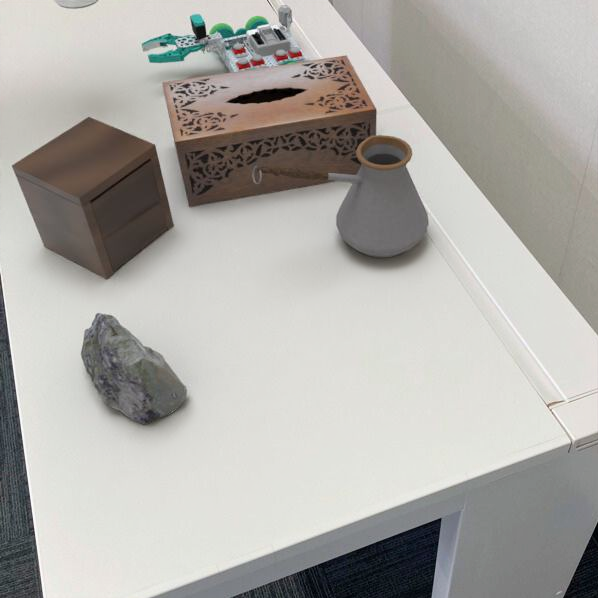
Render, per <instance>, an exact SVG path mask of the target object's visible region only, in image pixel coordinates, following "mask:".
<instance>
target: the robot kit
mask: <svg viewBox="0 0 598 598" xmlns="http://www.w3.org/2000/svg"><path fill="white" fill-rule="evenodd" d="M277 13H278V22H279V23H280V25H279V26H278V24H273V25H270V23H269V21H268V20H267V19H266V17H264V16H260V15H255V16H252V17H250V18H249V19H248V20H247V21H246V23H245V27H244V28H243V27H240V28H238V29H236V30H234V29H233V27H232V26H230V25H229V24H228V23H224V22H219V23H216V24H214V25H213V26H212V27H211V29H210V30H209V33H208V34H207V28H206V22H205V20H204V18H203V17H202V15H201V14H199V13H196V14H191V15H190V16H189V19H190V24H191V29H192V32H193V34H185V35H182V36H181V35H173V34H172V33H170V32H169V33H165V34H162V35H160V36H156V37H154V38H151V39H148V40H146V41H144V42H142V43H141V48H142V51H143V52H144V53H145V52H148V51H151V50H153V49H156V48H157V49H158V48H168V47H169V45H171V46H175V50H174V49H169V50H167V51H165V52H161V53H150V54H149V53H148V54H147V58H148V63H151V64H166V63H178V62H185V58H186V57H187V56H189V55H190V54H191V53H196V52H199V51H201V52H202V54H203V55H204V54H205V53H207V54H210V53H215V52H217V54H218V55H219V56H220V58H221V59H222V61H223V63H224V64H225V66H226V68H227V69H228V71H229V73H231V72H238V71H244V70H251V69H258V68H264V67H271V66H278V65H285V64H291V63H298V62H305V61H310V59H309V57H307V56H306V54H305V52H304V51H303V50H302V49H301V48H300V47H299V45H298V44H297V43H296V41H295V40H294V38H293V37H292V32H291V27H292V23H293V11H292V9H291V7H290V6H288V5H287V4H283V5H281V6H280V7H279V8H278V9H277ZM234 31H235V32H234Z"/></svg>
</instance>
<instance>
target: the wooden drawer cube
mask: <svg viewBox="0 0 598 598" xmlns="http://www.w3.org/2000/svg"><path fill="white" fill-rule="evenodd" d="M11 168H12V170H13V172H14V174H15V177H16V180H17V182H18V184H19V187H20V189H21V192H22V195H23V197H24V199H25V202H26V205H27V207H28V209H29V212H30V215H31V217H32V219H33V222H34V224H35V227H36V230H37V232H38V235H39V237H40V240H41V241H42V244H43V246H44V247H45V248H46V249H48V250H50V251H52V252H54V253H56V254H58V255H60V256H62V257H63V258H66V259H67V260H69V261H72V262H73V263H75V264H77V265H79V266H81V267H83V268H85V269H87V270H89V272H92V273H93V274H96V275H98V276H99V277H101V278H104V279H106V280H108V279H109V278H111V277H112V276H113V275H114V272H115V271H116V270H117V269H119V268H120V267H121V266H122V265H124V264H125V263H126V262H127V261H129V260H130V259H132V257H134V256H135V255H136V254H138V253H139V252H140V251H142V249H144V248H145V247H146V246H148V245H149V244H150V243H152V242H153V241H154V240H155V239H156V238H158V237H159V236H160V235H161V234H162V233H164V232H165V231H169V230H170V229H172V228H174V226H175V224H174V220H173V215H172V212H171V206H170V202H169V199H168V193H167V189H166V185H165V181H164V177H163V172H162V168H161V163H160V159H159V156H158V151H157V146H156V143H155V144H154V143H153V142H150V141H148V140H145V139H143V138H141V137H138V136H136V135H133V134H131V133H128V132H126V131H124V130H122V129H119V128H118V127H114V126H112V125H110V124H107V123H105V122H103V121H100V120H98V119H95V118H94V117H91V116H88V117H86V118H84V119H82V120H81V121H80V122H78V123H77V124H74V125H73V126H72V127H70V128H69V129H67V130H65V131H64V132H62V133H61V134H59V135H58V136H56V137H54V138H53V139H51V140H49V141H48V142H46V143H44V144H43V145H41V146H40V147H39V148H37V149H35V150H34V151H33V152H30V153H29V154H27V155H26V156H24V157H23V158H21V159H19V160H18V161H16V162H15V163H13V164H12V165H11Z"/></svg>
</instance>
